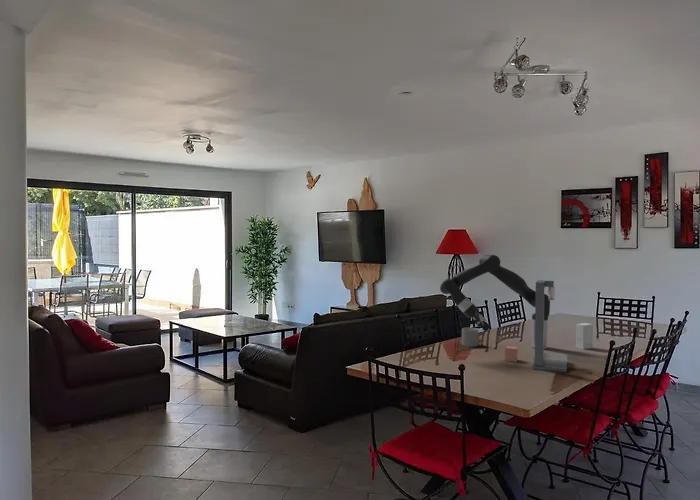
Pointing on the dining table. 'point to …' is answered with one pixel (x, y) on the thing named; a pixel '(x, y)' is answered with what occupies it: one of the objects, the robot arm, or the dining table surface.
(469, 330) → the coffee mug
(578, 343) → the skincare box
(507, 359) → the pink block
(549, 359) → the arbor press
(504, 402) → the dining table surface
